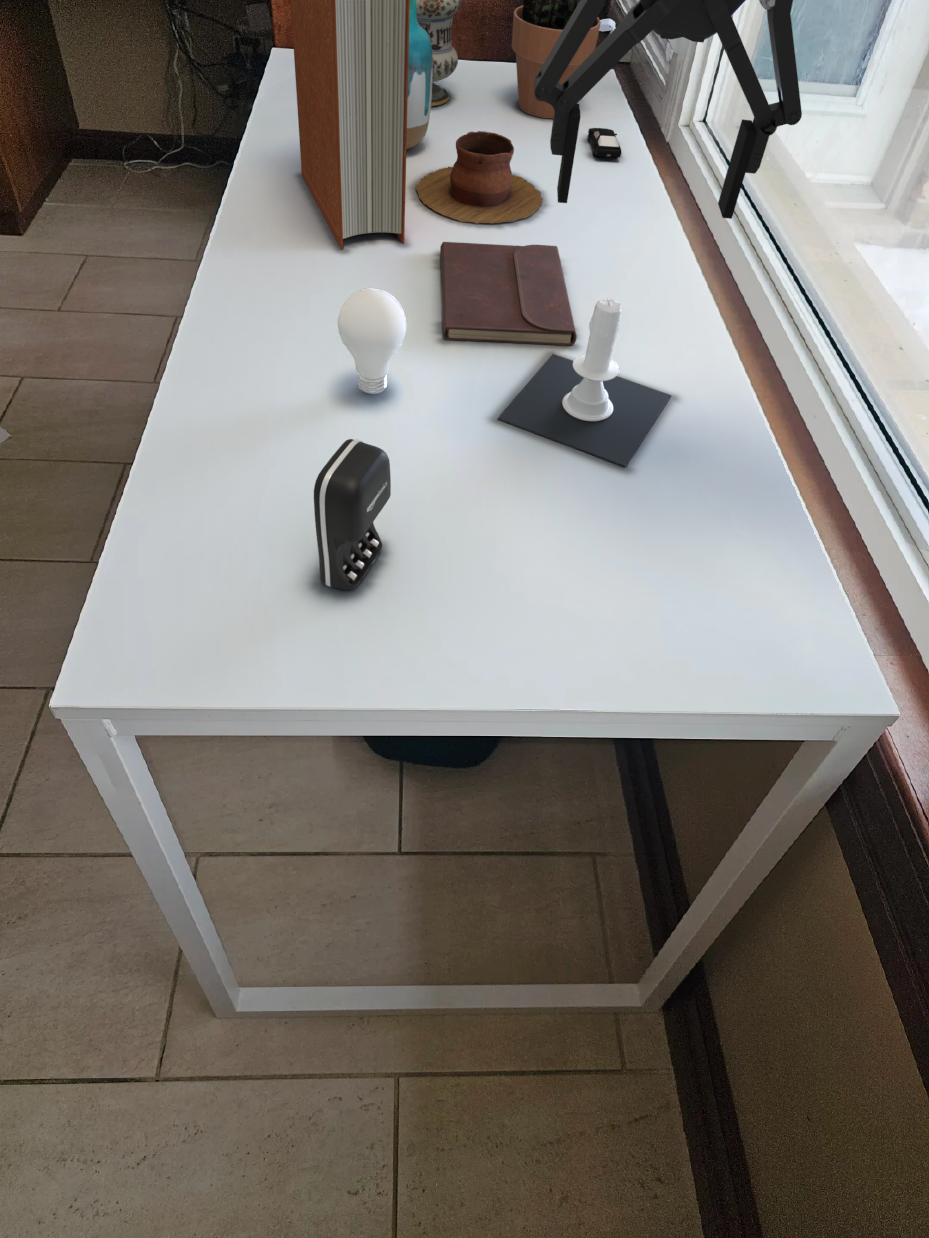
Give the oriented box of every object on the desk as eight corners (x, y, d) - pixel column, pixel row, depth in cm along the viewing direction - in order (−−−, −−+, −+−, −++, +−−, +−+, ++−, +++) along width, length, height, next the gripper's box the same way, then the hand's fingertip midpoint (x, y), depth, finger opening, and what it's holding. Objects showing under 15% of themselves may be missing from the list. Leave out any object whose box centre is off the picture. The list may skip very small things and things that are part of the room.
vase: (396, 126, 135) (398, -22, 121) (444, 149, 131) (452, -2, 116) (344, 142, 130) (339, -11, 115) (392, 167, 125) (393, 11, 111)
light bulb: (332, 405, 88) (328, 305, 79) (349, 369, 92) (346, 270, 84) (397, 416, 87) (399, 316, 79) (410, 378, 92) (413, 281, 83)
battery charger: (359, 601, 71) (356, 496, 62) (317, 586, 72) (309, 480, 63) (394, 547, 75) (397, 441, 67) (355, 533, 76) (352, 427, 67)
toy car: (585, 135, 139) (588, 117, 136) (610, 137, 139) (613, 118, 137) (594, 161, 132) (597, 142, 130) (620, 163, 132) (624, 144, 130)
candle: (555, 412, 89) (575, 305, 80) (571, 386, 93) (592, 280, 84) (604, 428, 88) (630, 321, 79) (619, 400, 92) (645, 294, 82)
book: (404, 243, 111) (410, -44, 88) (341, 250, 108) (332, -44, 86) (356, 168, 124) (351, -99, 101) (299, 172, 122) (281, -100, 99)
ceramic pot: (565, 215, 120) (574, 161, 114) (450, 233, 114) (453, 177, 108) (505, 161, 130) (510, 110, 124) (395, 176, 124) (396, 122, 118)
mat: (671, 396, 93) (671, 395, 93) (625, 467, 85) (625, 466, 85) (552, 355, 97) (552, 353, 96) (497, 419, 88) (497, 417, 88)
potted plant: (507, 89, 149) (526, -96, 130) (586, 99, 149) (616, -85, 130) (501, 119, 140) (520, -75, 121) (585, 129, 140) (617, -63, 121)
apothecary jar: (464, 109, 142) (473, -24, 128) (392, 111, 139) (393, -25, 125) (444, 82, 149) (451, -46, 136) (376, 83, 146) (376, -48, 133)
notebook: (442, 339, 97) (443, 323, 95) (440, 253, 110) (440, 238, 108) (575, 346, 98) (578, 330, 97) (557, 260, 111) (559, 245, 109)
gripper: (892, -122, 59) (783, 198, 75) (525, -160, 58) (494, 170, 74) (926, -100, 54) (801, 238, 70) (524, -140, 53) (492, 209, 69)
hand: (643, 204), depth 72 cm, fingers open, 13 cm apart
